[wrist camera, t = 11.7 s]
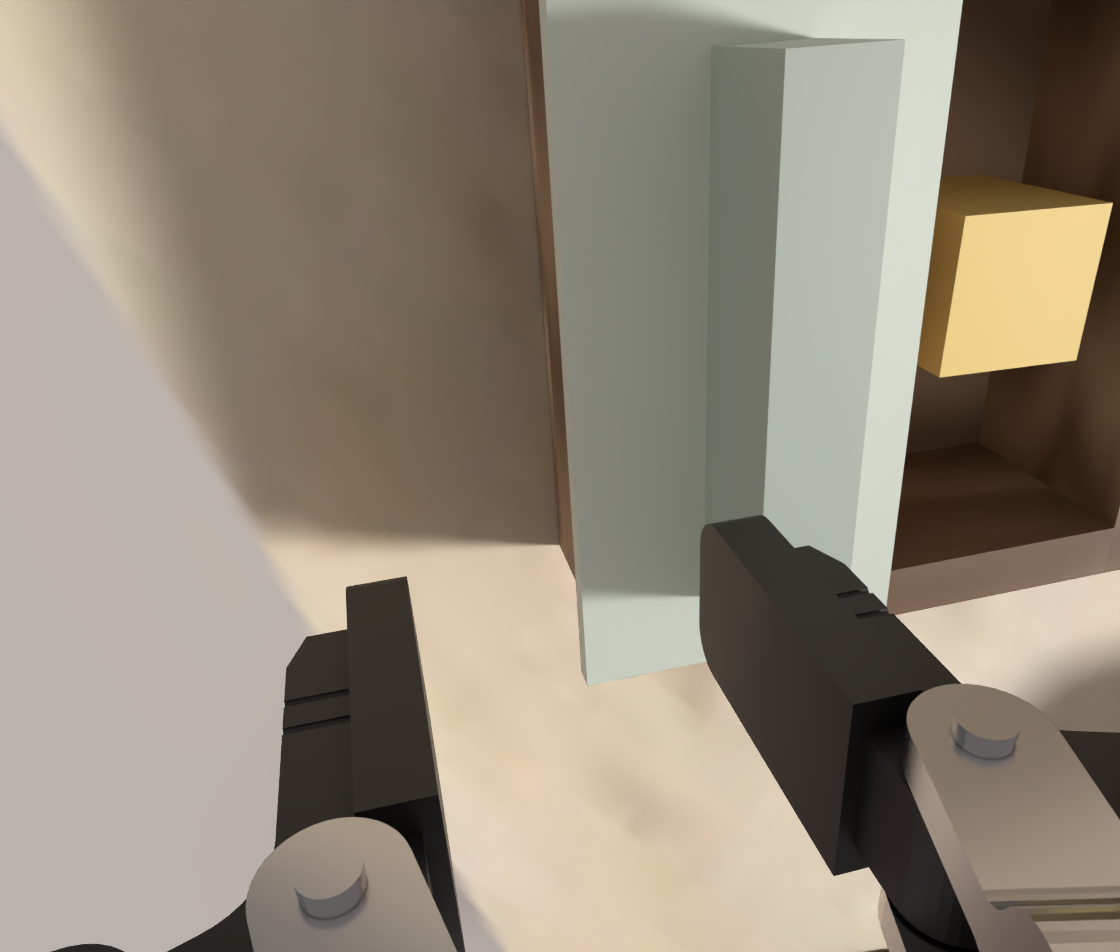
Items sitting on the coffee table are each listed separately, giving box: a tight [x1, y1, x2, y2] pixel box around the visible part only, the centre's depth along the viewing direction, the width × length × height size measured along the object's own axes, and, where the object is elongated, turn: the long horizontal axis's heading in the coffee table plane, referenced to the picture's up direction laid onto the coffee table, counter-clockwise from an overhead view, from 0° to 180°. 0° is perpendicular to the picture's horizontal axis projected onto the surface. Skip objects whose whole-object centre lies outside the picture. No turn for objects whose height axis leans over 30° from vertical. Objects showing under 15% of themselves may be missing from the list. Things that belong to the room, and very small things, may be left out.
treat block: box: [917, 174, 1113, 378], centre depth 24 cm, size 4×4×5 cm
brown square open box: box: [521, 0, 1120, 615], centre depth 24 cm, size 17×17×6 cm
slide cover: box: [539, 0, 963, 686], centre depth 18 cm, size 16×8×4 cm, turn 3°
